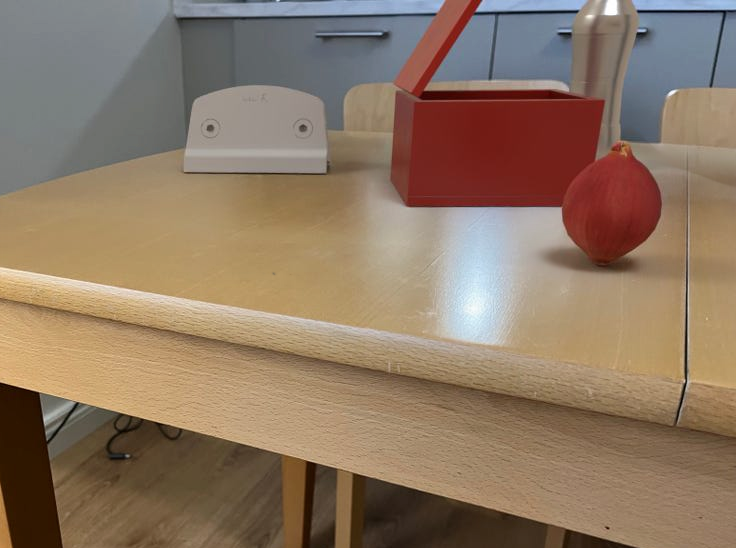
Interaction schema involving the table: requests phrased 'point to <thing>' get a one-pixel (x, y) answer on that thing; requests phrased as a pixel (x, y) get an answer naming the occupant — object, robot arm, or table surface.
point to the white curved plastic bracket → (257, 132)
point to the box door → (435, 45)
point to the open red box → (492, 146)
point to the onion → (612, 206)
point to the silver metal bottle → (603, 59)
